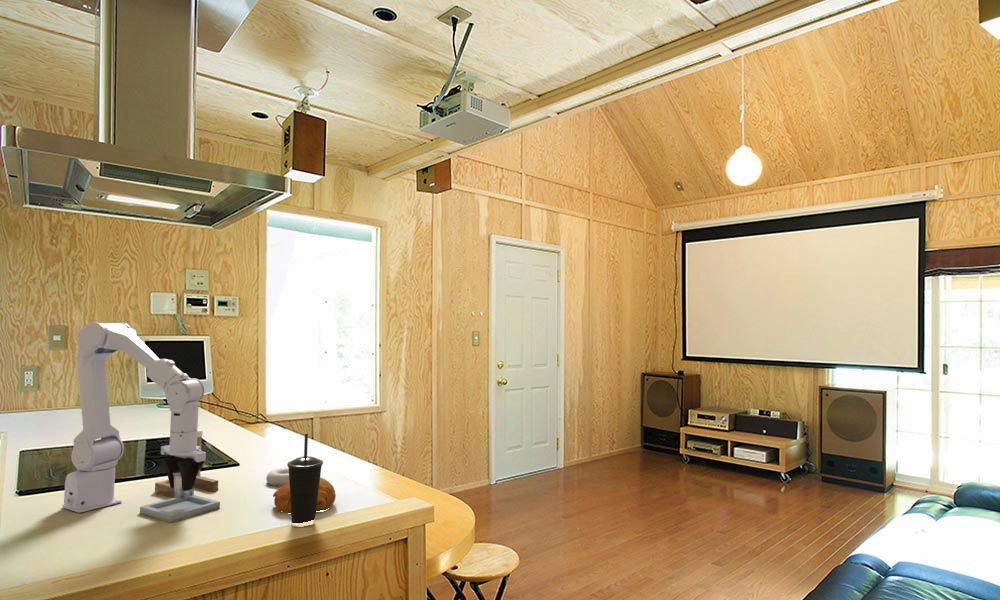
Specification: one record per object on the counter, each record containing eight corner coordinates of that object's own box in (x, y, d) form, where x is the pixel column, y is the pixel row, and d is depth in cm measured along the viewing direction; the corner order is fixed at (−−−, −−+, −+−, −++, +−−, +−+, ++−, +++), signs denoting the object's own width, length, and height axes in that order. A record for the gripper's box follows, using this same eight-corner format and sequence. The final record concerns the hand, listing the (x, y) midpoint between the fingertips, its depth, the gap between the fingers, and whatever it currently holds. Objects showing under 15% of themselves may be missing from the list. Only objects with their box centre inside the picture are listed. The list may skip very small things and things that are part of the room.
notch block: (181, 499, 144) (182, 489, 144) (154, 492, 149) (155, 482, 149) (218, 490, 152) (218, 480, 152) (191, 483, 158) (191, 474, 158)
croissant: (329, 503, 150) (330, 471, 152) (339, 513, 137) (340, 478, 138) (270, 508, 145) (272, 475, 146) (274, 518, 131) (276, 482, 132)
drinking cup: (300, 532, 123) (303, 438, 124) (277, 525, 127) (281, 434, 128) (328, 522, 130) (331, 433, 131) (305, 515, 134) (308, 429, 135)
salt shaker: (181, 500, 133) (180, 475, 133) (169, 497, 136) (168, 472, 135) (198, 493, 137) (197, 469, 137) (187, 490, 139) (186, 466, 139)
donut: (274, 490, 154) (310, 483, 161) (275, 477, 154) (310, 470, 161) (260, 482, 161) (294, 476, 168) (260, 470, 162) (295, 464, 168)
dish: (170, 522, 127) (171, 516, 127) (139, 513, 133) (140, 506, 133) (219, 508, 138) (220, 501, 138) (189, 499, 144) (189, 493, 144)
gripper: (218, 431, 136) (216, 489, 136) (181, 425, 143) (179, 479, 143) (190, 436, 130) (188, 496, 130) (153, 429, 137) (150, 486, 137)
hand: (181, 488), depth 136 cm, fingers closed on salt shaker, 4 cm apart
